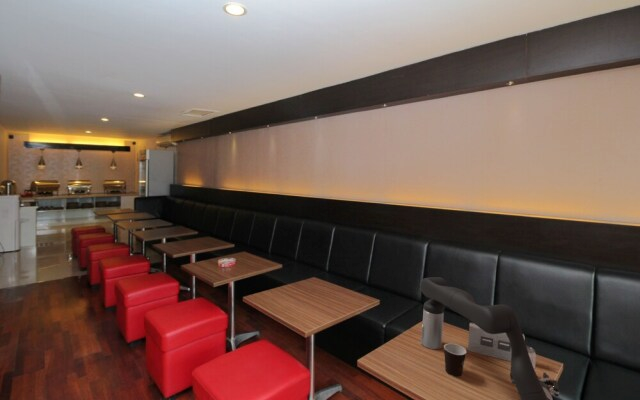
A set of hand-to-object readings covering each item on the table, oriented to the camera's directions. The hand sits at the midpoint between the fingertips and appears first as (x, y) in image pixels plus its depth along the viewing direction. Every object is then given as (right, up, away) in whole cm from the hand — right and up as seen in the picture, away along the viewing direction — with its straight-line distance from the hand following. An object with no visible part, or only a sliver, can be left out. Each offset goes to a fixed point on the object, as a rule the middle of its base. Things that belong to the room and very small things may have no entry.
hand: (530, 371), depth 118 cm
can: (+4, -8, +10) cm, 13 cm away
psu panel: (0, -6, +25) cm, 26 cm away
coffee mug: (-23, -7, +12) cm, 27 cm away
